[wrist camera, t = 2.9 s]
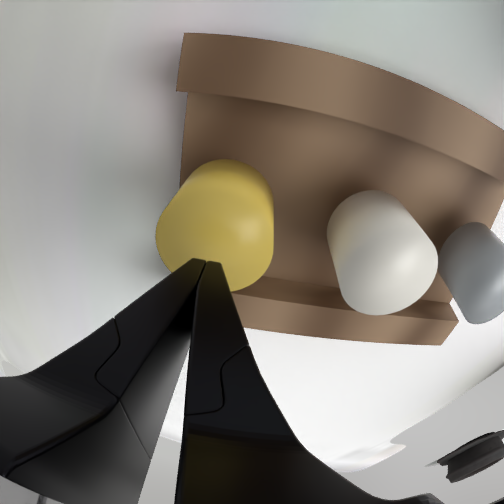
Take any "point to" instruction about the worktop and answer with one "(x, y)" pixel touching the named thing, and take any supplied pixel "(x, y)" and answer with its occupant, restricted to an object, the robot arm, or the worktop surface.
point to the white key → (379, 253)
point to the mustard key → (220, 222)
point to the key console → (336, 171)
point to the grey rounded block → (474, 271)
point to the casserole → (474, 456)
